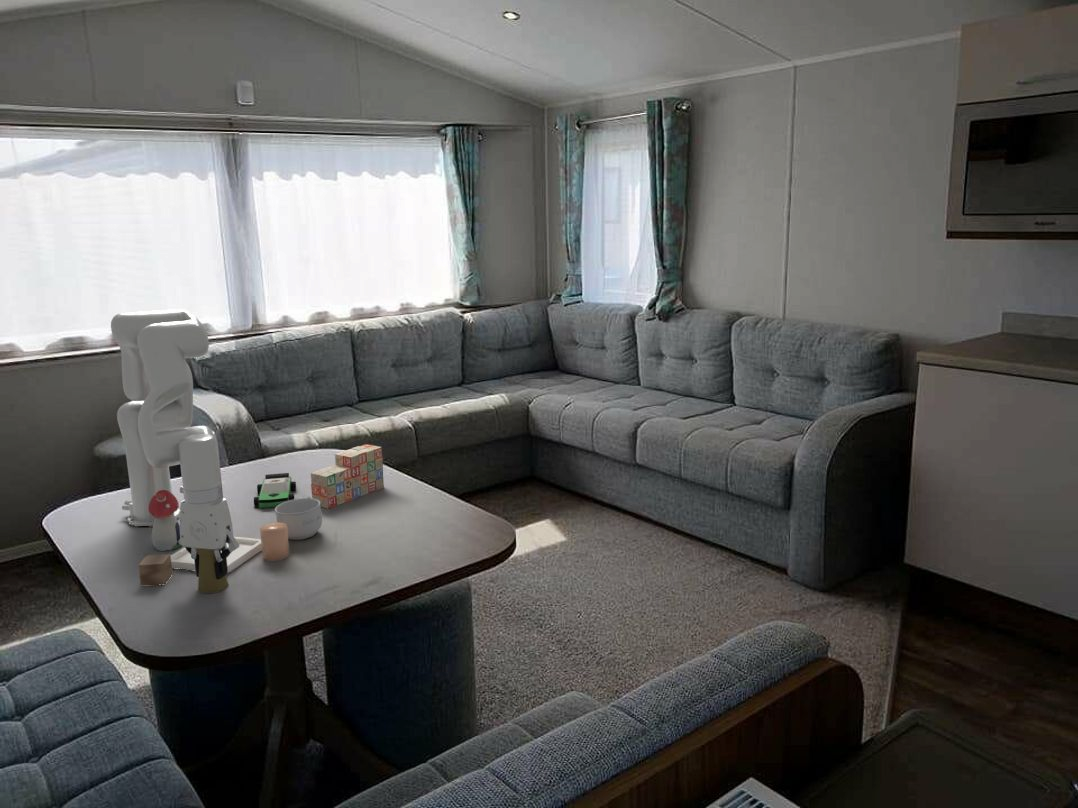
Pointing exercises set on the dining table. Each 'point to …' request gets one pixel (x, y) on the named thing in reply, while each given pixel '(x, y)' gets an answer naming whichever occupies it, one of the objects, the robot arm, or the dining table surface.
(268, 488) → the toy car
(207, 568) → the cork
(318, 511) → the teacup
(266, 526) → the peach rounded cylinder
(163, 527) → the decorative ornament
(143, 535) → the dining table surface
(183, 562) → the tray
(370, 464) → the stack of blocks
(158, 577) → the walnut block
